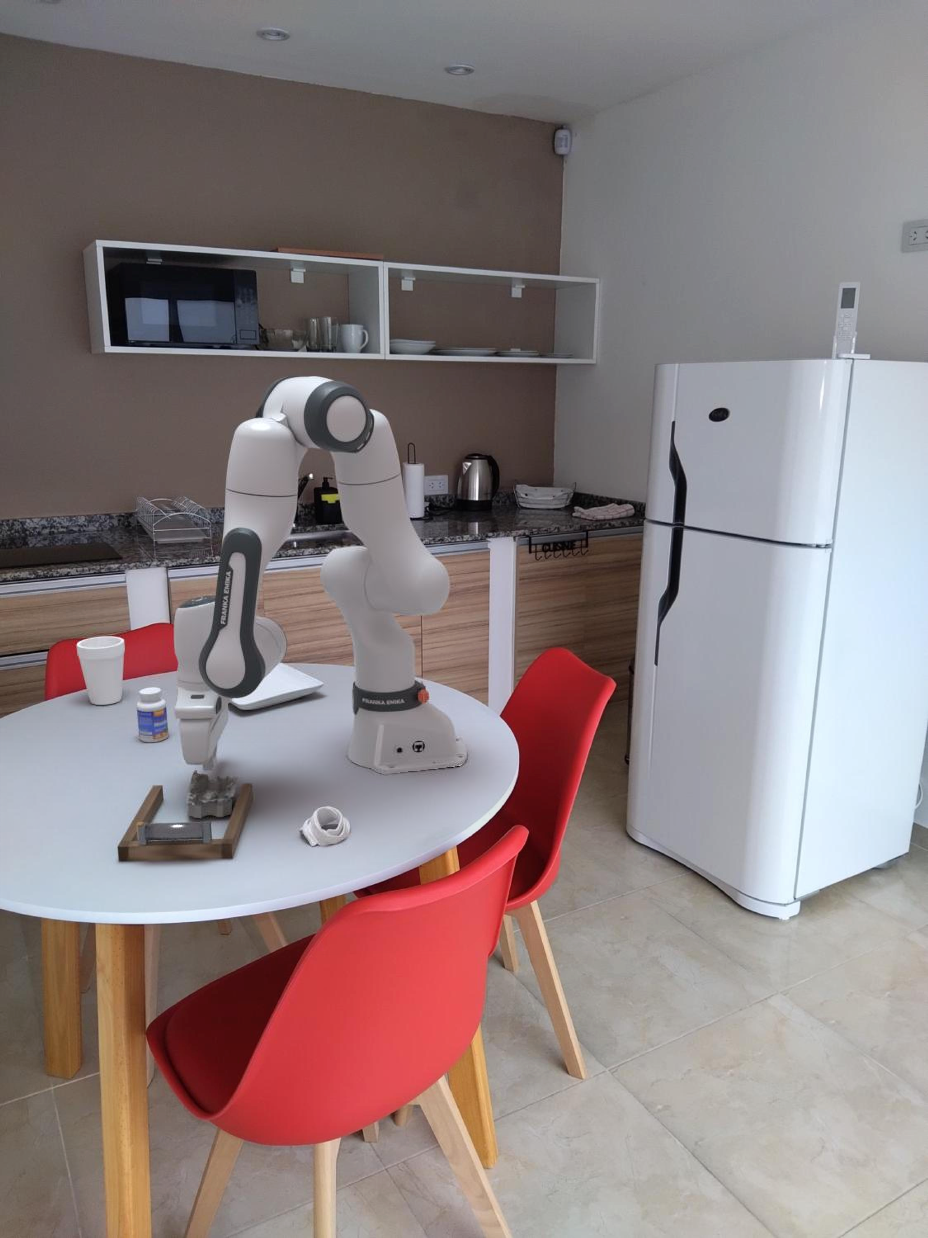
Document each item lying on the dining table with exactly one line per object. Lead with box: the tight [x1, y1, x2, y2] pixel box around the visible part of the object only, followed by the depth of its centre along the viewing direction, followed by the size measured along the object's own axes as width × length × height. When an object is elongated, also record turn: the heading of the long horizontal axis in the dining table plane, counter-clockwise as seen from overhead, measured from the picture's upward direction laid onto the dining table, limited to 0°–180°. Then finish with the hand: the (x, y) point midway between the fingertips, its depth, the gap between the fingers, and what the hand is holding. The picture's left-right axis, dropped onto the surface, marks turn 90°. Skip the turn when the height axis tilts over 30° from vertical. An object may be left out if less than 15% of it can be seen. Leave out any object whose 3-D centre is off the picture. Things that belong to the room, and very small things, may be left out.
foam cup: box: [76, 635, 126, 706], centre depth 191 cm, size 10×9×13 cm
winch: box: [136, 820, 213, 846], centre depth 127 cm, size 10×2×3 cm, turn 95°
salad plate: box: [229, 662, 325, 711], centre depth 198 cm, size 21×21×3 cm
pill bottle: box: [136, 686, 169, 743], centre depth 171 cm, size 5×5×10 cm
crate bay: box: [116, 782, 254, 863], centre depth 137 cm, size 16×20×3 cm
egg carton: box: [185, 770, 239, 819], centre depth 144 cm, size 11×8×4 cm
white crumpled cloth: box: [298, 805, 351, 847], centre depth 135 cm, size 8×7×5 cm
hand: (209, 767), depth 152 cm, fingers closed
